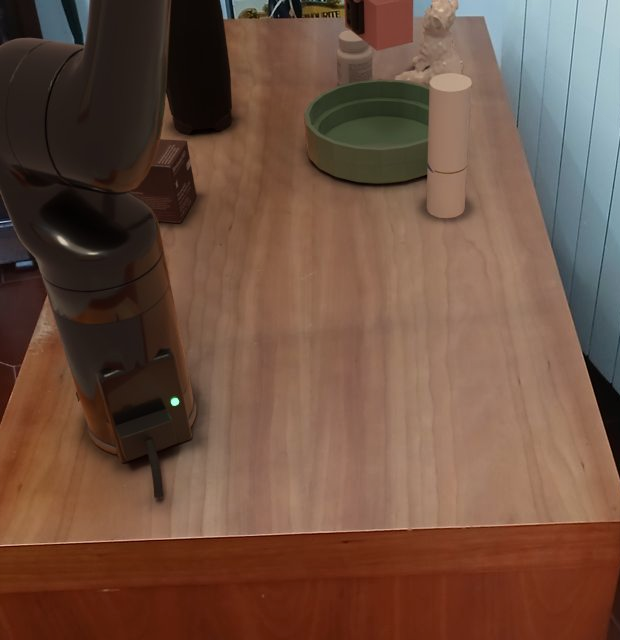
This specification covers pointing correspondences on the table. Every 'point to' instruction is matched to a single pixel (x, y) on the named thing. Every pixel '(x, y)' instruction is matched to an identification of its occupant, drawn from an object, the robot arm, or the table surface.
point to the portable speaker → (198, 66)
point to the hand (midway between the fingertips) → (378, 26)
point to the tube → (448, 144)
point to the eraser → (386, 23)
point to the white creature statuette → (436, 45)
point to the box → (169, 182)
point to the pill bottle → (353, 59)
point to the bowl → (370, 131)
